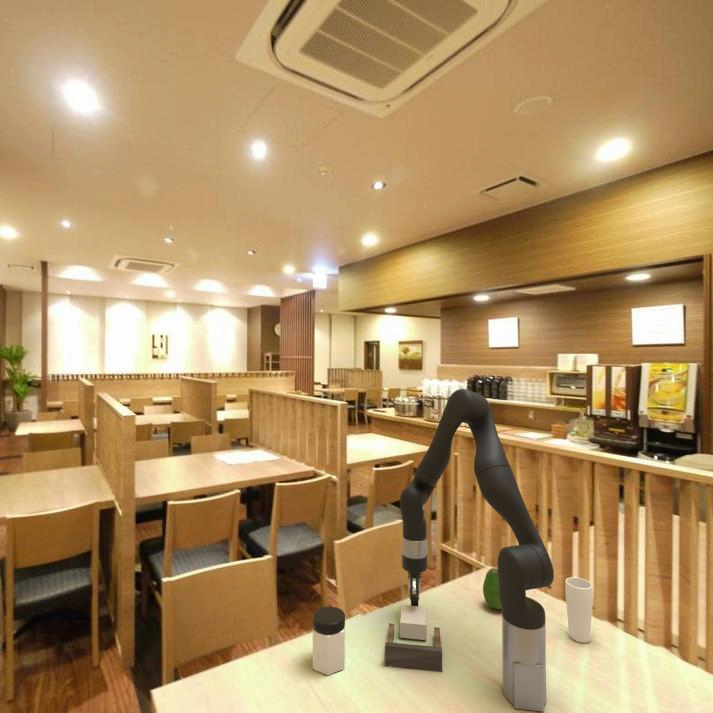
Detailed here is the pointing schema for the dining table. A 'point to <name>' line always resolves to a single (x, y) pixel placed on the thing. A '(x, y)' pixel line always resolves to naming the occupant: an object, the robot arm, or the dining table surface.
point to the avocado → (492, 589)
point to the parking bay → (413, 653)
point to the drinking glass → (579, 608)
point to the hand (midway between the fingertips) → (414, 610)
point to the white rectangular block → (413, 622)
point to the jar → (328, 640)
